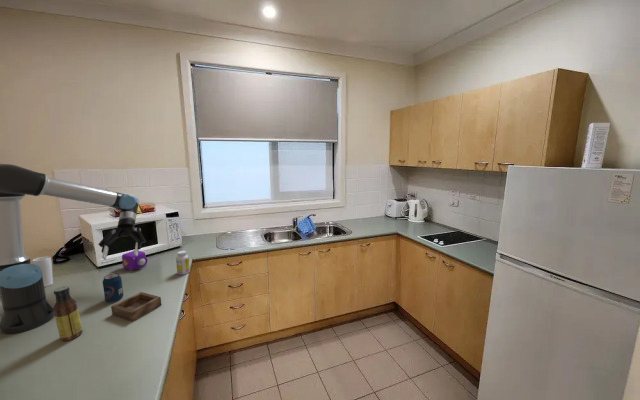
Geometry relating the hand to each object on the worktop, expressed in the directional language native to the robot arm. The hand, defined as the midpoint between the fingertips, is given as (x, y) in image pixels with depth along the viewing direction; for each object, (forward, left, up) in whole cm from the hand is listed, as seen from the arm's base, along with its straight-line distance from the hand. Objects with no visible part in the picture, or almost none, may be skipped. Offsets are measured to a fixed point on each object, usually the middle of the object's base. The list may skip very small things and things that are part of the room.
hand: (120, 256), depth 131 cm
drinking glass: (-13, +42, -18) cm, 47 cm away
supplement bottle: (+25, -13, -18) cm, 33 cm away
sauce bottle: (-32, -20, -18) cm, 41 cm away
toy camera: (+20, +20, -18) cm, 34 cm away
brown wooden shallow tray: (-11, -26, -17) cm, 33 cm away
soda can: (-9, -7, -18) cm, 21 cm away
